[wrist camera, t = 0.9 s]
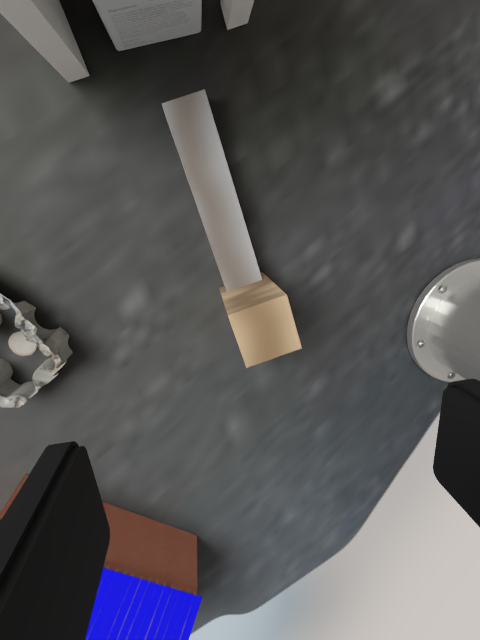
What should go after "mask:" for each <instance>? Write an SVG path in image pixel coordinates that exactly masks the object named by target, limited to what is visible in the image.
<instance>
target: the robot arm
mask: <svg viewBox="0 0 480 640" xmlns="http://www.w3.org/2000/svg"><path fill="white" fill-rule="evenodd" d="M407 344H408V348H409V351H410V354H411V356H412V358H413V360H414V361H415V363H416V364H417V365H418V366H419V367H420V368H421V369H422V370H423V371H425V372H426V373H428V374H429V375H430V376H432V377H434V378H436V379H439V380H442V381H446V382H451V383H449V385H448V387H447V388H446V389H445V390H444V392H443V397H442V405H441V412H440V420H439V427H438V434H437V442H436V449H435V456H434V465H433V470H434V474H435V476H436V478H437V480H438V481H439V482H440V484H441V485H442V486H443V487H444V488H445V489H446V490H447V491H448V492H449V494H450V495H451V496H452V497H453V498H454V499H455V500H456V501H457V502H458V504H460V506H461V507H462V508H463V509H464V510H465V511H466V512H467V513H468V515H469V516H470V517H471V518H472V519H473V520H474V521H475V522H476V523H477V525H478V526H479V527H480V258H477V259H470V260H466V261H463V262H460V263H457V264H455V265H453V266H451V267H450V268H448V269H446V270H444V271H443V272H442V273H440V274H439V275H438V276H437V277H435V278H434V279H433V280H432V281H431V282H430V283H429V284H428V285H427V287H426V288H425V289H424V290H423V292H422V293H421V294H420V296H419V297H418V299H417V300H416V303H415V305H414V307H413V309H412V311H411V314H410V318H409V321H408V326H407ZM109 542H110V527H109V523H108V520H107V516H106V513H105V510H104V506H103V503H102V500H101V496H100V493H99V490H98V487H97V483H96V480H95V477H94V473H93V470H92V467H91V463H90V460H89V457H88V453H87V450H86V448H85V447H84V446H80V447H79V446H78V444H77V443H76V442H74V441H72V442H66V443H59V444H53V445H49V446H47V447H46V449H45V450H44V452H43V453H42V455H41V456H40V458H39V460H38V461H37V463H36V465H35V466H34V468H33V469H32V471H31V473H30V474H29V476H28V477H27V479H26V481H25V482H24V484H23V485H22V487H21V489H20V490H19V492H18V494H17V495H16V497H15V498H14V500H13V502H12V503H11V505H10V506H9V508H8V510H7V511H6V513H5V515H4V516H3V517H2V518H1V520H0V640H85V638H86V635H87V631H88V627H89V623H90V619H91V615H92V611H93V607H94V603H95V599H96V595H97V591H98V587H99V583H100V579H101V575H102V571H103V567H104V563H105V559H106V555H107V551H108V547H109Z"/></svg>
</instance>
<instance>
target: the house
mask: <svg viewBox="0 0 480 640" xmlns="http://www.w3.org/2000/svg"><path fill="white" fill-rule="evenodd" d="M28 476H29V475H27V474H25V476H24V477H23V479H22V481H21V482H20V484H19V485H18V487H17V488H16V490H15V491H14V493H13V495H12V496H11V498H10V499H9V501H8V502H7V504H6V506H5V507H4V509H3V510H2V512H1V513H0V520H1V518H2V517H3V516H4V515H5V513H6V511H7V510H8V508H9V506H10V505H11V503H12V502H13V500H14V498H15V497H16V495H17V494H18V492H19V490H20V489H21V487H22V485H23V484H24V482H25V481H26V479H27V477H28ZM102 503H103V506H104V510H105V513H106V516H107V520H108V523H109V527H110V542H109V547H108V551H107V555H106V559H105V563H104V567H103V571H102V575H101V579H100V583H99V587H98V591H97V595H96V599H95V603H94V607H93V611H92V615H91V619H90V623H89V627H88V631H87V635H86V638H85V640H189V636H190V633H191V630H192V627H193V624H194V621H195V618H196V615H197V612H198V609H199V606H200V603H201V599H202V597H200V596H197V535H194V534H191V533H189V532H186V531H183V530H180V529H178V528H175V527H172V526H169V525H166V524H164V523H161V522H158V521H155V520H153V519H150V518H147V517H144V516H141V515H139V514H136V513H133V512H130V511H127V510H125V509H122V508H119V507H116V506H114V505H111V504H108V503H105V502H102Z"/></svg>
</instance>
